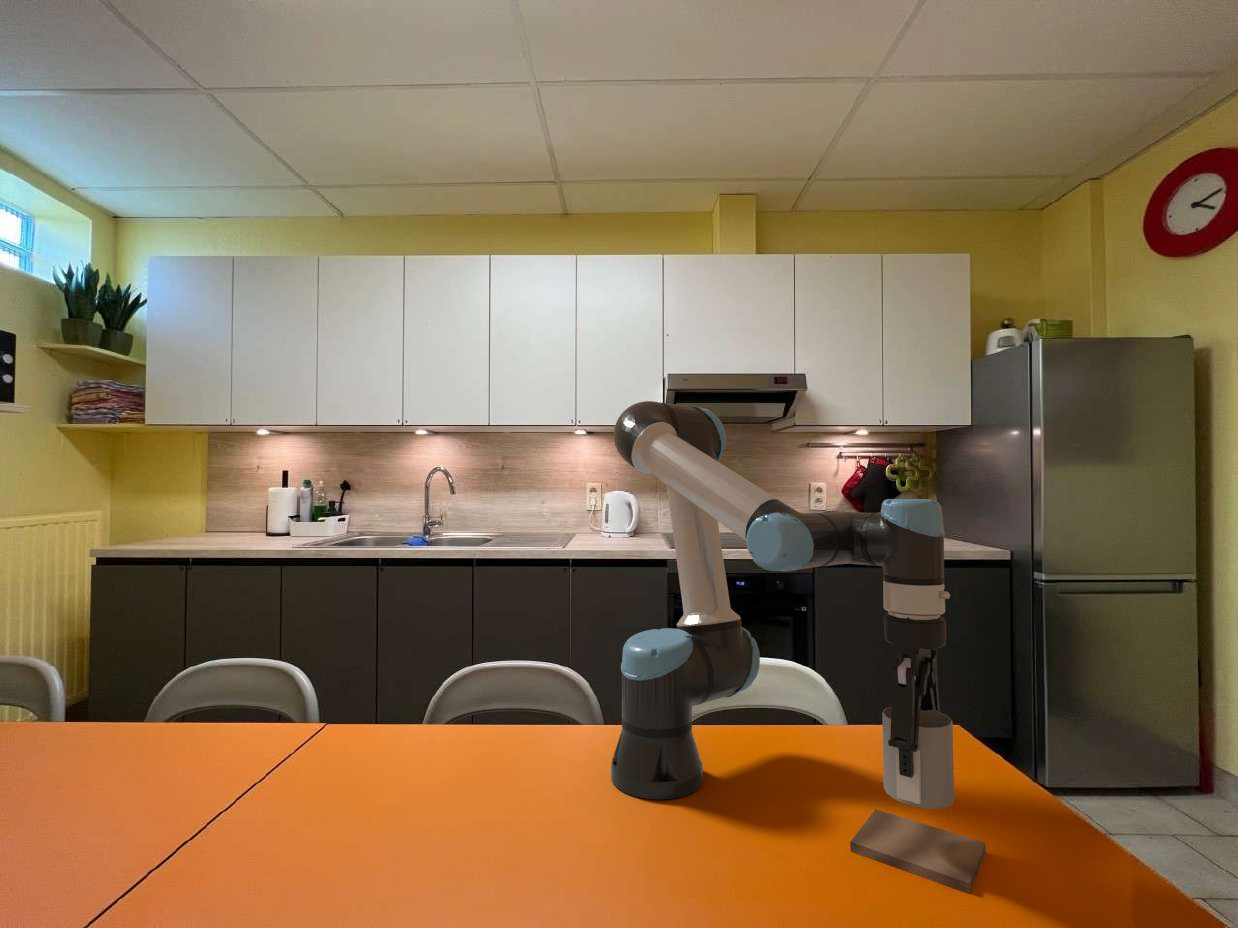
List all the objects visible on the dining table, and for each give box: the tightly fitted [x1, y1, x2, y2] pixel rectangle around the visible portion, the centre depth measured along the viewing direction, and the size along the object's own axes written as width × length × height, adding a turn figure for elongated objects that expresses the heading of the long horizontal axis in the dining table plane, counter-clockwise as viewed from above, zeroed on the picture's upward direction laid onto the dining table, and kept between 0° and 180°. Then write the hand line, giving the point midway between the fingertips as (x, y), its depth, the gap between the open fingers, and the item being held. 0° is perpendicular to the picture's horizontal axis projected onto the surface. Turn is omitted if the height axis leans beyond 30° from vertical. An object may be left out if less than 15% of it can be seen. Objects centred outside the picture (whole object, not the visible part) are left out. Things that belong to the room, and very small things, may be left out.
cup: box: [881, 706, 955, 810], centre depth 84 cm, size 8×8×10 cm
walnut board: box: [849, 809, 987, 894], centre depth 83 cm, size 14×11×1 cm
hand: (918, 786), depth 83 cm, fingers closed on cup, 8 cm apart
